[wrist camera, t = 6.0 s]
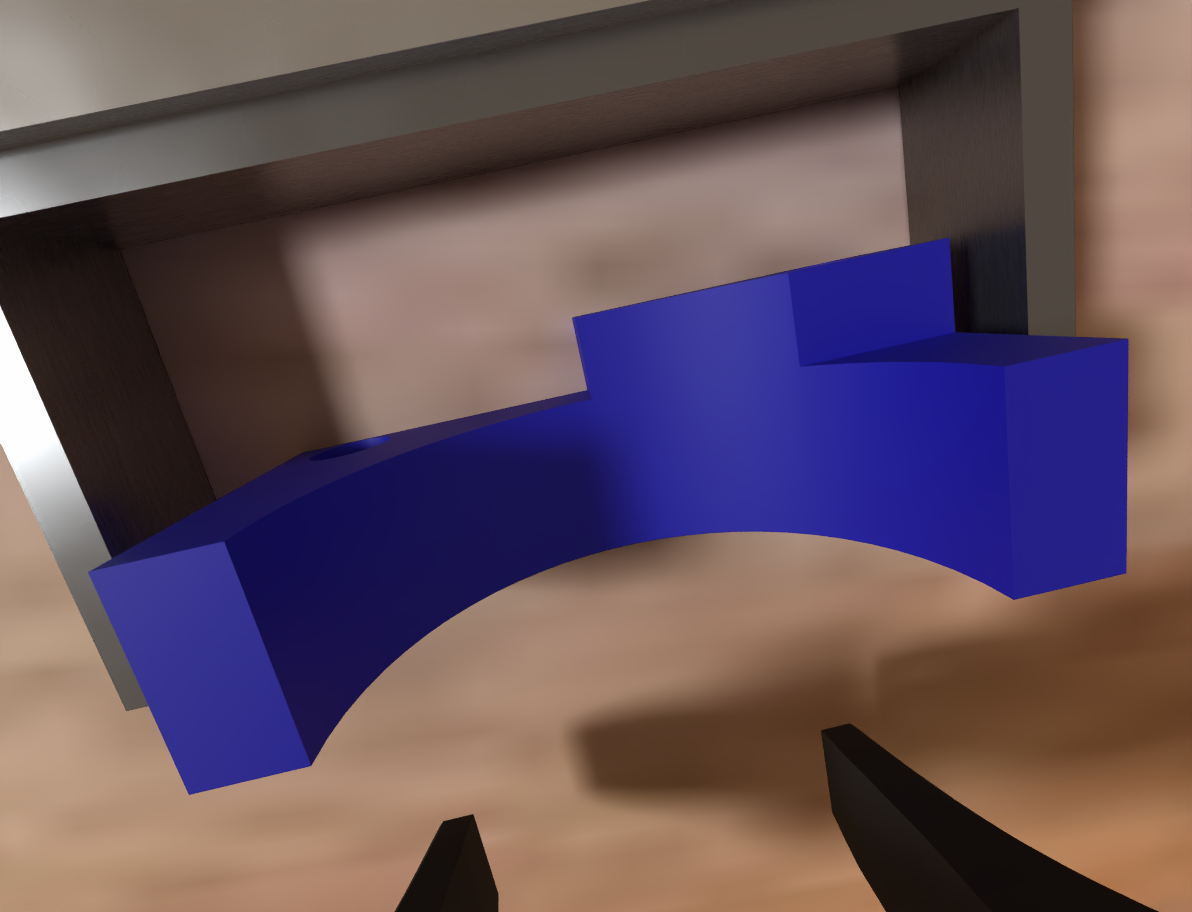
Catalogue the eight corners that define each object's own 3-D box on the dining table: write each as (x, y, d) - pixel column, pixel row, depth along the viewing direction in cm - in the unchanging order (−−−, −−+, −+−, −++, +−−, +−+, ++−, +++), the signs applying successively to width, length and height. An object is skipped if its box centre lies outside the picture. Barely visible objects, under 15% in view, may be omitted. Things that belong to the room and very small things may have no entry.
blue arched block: (854, 256, 12) (1130, 201, 6) (874, 461, 13) (1125, 572, 8) (280, 380, 12) (28, 441, 6) (348, 581, 13) (188, 794, 7)
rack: (978, 449, 13) (1126, 495, 10) (222, 621, 13) (104, 731, 9) (946, -164, 11) (1135, -391, 7) (-18, 26, 10) (-307, -121, 7)
